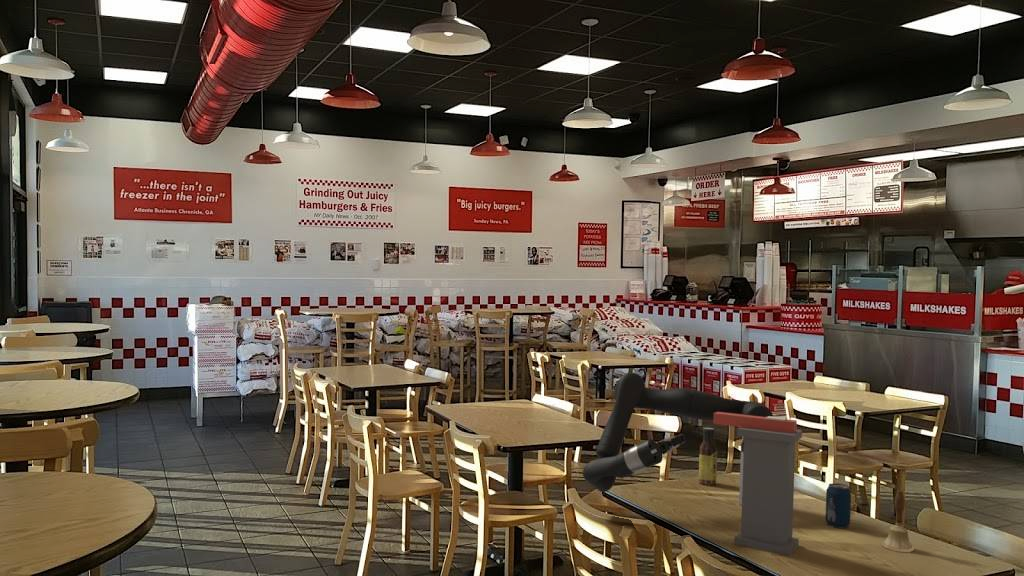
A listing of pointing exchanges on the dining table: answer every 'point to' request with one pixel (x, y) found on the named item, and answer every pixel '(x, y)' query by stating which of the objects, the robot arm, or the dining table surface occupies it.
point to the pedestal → (768, 490)
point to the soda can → (838, 505)
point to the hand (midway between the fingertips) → (689, 435)
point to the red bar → (755, 422)
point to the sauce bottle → (708, 458)
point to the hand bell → (898, 527)
